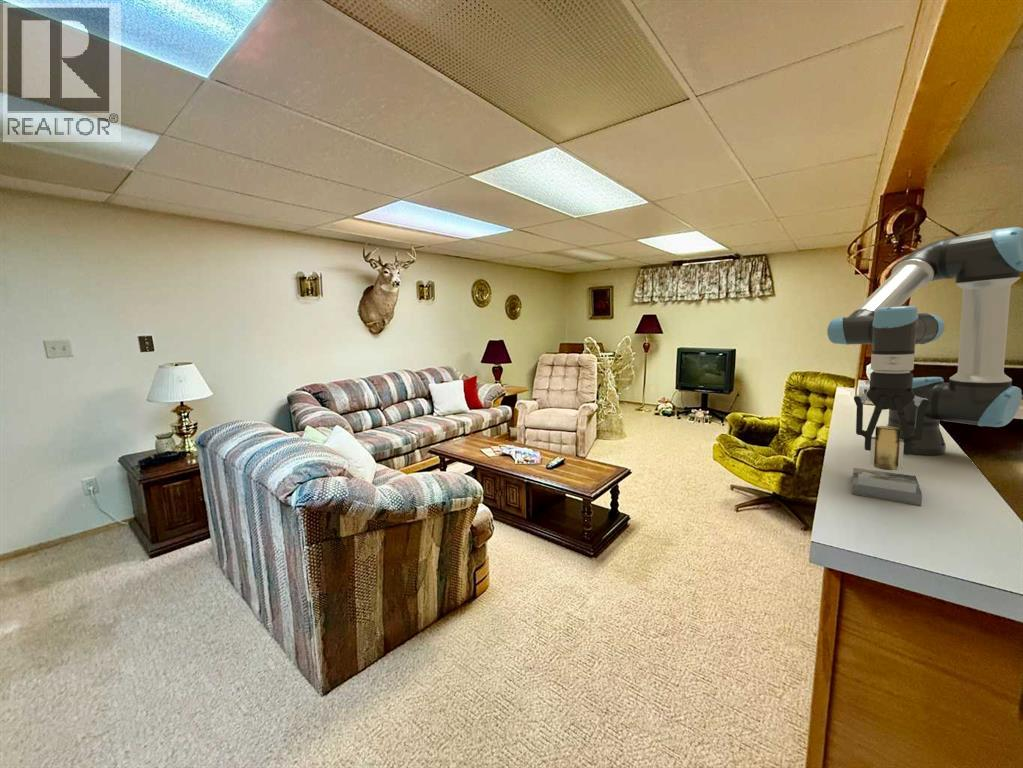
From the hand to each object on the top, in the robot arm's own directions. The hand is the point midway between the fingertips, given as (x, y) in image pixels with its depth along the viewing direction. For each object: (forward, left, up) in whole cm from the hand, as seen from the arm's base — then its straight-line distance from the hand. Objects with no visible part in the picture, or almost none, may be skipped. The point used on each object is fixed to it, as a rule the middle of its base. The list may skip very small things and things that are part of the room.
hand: (885, 464), depth 99 cm
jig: (0, 0, -7) cm, 7 cm away
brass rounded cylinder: (0, 0, -1) cm, 1 cm away
